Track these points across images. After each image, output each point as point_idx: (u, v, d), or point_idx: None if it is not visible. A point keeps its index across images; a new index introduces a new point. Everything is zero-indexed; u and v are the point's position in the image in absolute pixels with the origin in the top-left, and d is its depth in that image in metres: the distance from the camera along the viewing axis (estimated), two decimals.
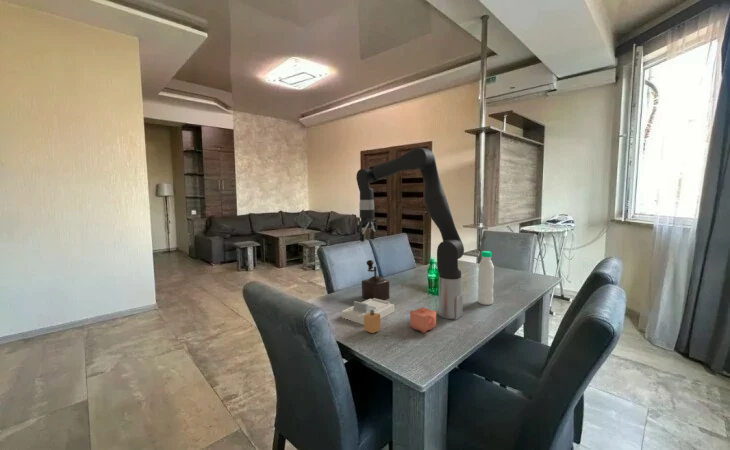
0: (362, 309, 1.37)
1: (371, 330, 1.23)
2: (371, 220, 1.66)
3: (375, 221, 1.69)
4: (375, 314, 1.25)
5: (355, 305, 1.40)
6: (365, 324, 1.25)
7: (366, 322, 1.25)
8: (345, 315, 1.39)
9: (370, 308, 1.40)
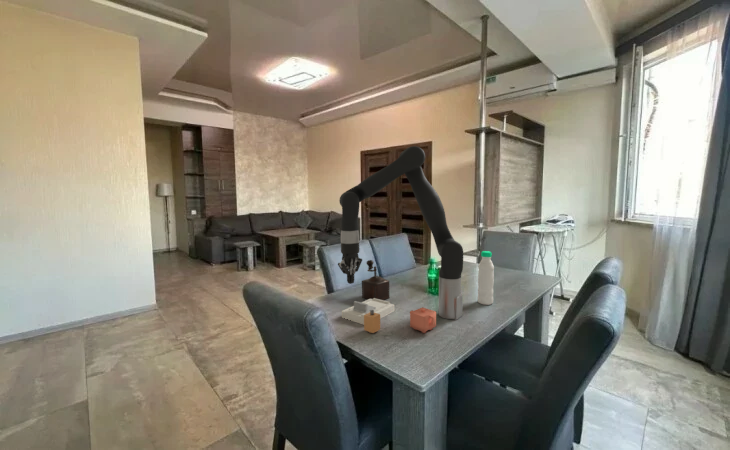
0: (362, 309, 1.37)
1: (371, 330, 1.23)
2: (356, 254, 1.33)
3: (360, 260, 1.35)
4: (375, 314, 1.25)
5: (355, 305, 1.40)
6: (365, 324, 1.25)
7: (366, 322, 1.25)
8: (345, 315, 1.39)
9: (370, 308, 1.40)
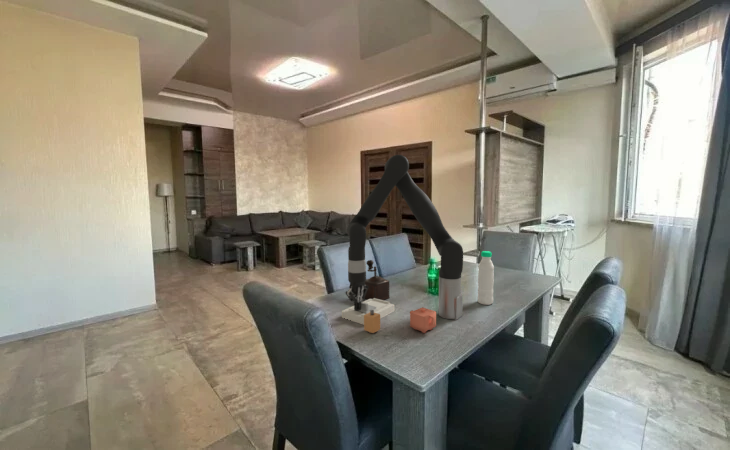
0: (363, 309, 1.38)
1: (371, 330, 1.23)
2: (363, 282, 1.37)
3: (366, 287, 1.39)
4: (375, 314, 1.25)
5: None
6: (365, 324, 1.25)
7: (366, 322, 1.25)
8: (345, 315, 1.39)
9: (371, 308, 1.41)
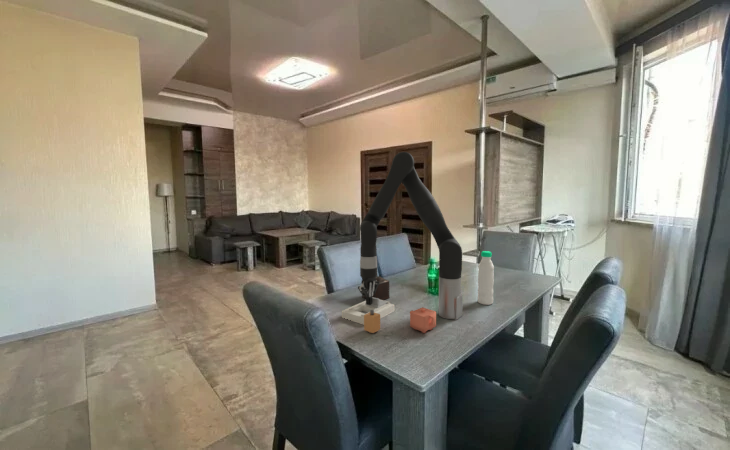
0: (374, 303, 1.44)
1: (371, 330, 1.23)
2: (374, 277, 1.44)
3: (377, 283, 1.45)
4: (375, 314, 1.25)
5: None
6: (365, 324, 1.25)
7: (366, 322, 1.25)
8: (345, 315, 1.39)
9: (382, 303, 1.47)
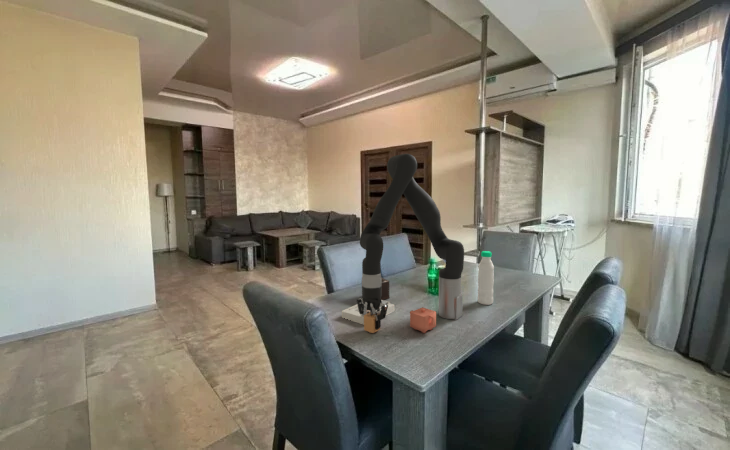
0: None
1: (371, 330, 1.23)
2: (375, 301, 1.22)
3: (381, 307, 1.21)
4: None
5: None
6: (365, 324, 1.25)
7: (366, 322, 1.25)
8: (345, 315, 1.39)
9: None
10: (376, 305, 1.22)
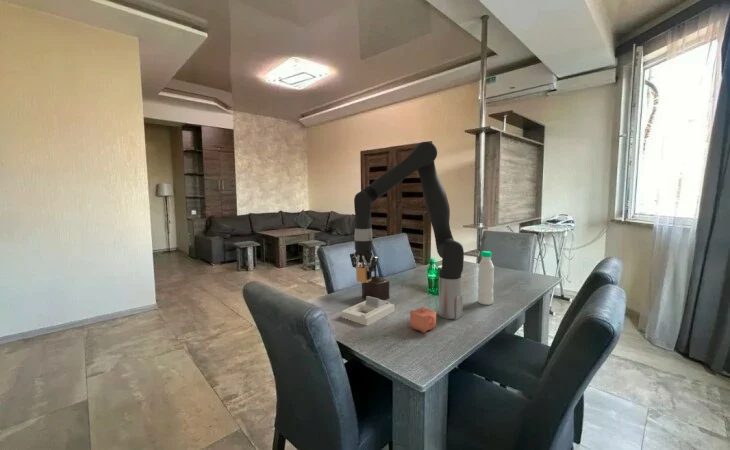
0: (374, 303, 1.44)
1: (363, 280, 1.36)
2: (366, 253, 1.35)
3: (372, 259, 1.33)
4: None
5: (367, 300, 1.46)
6: (357, 275, 1.37)
7: (358, 273, 1.37)
8: (345, 315, 1.39)
9: (382, 303, 1.47)
10: (367, 257, 1.35)
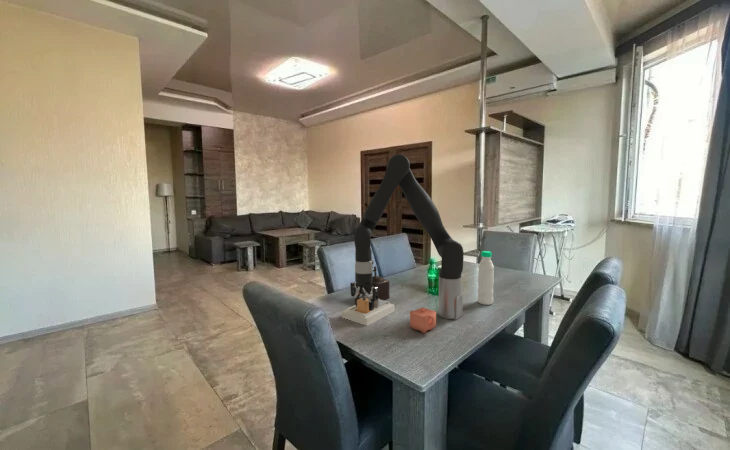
0: (374, 303, 1.44)
1: None
2: (366, 286, 1.37)
3: (372, 290, 1.36)
4: (367, 299, 1.41)
5: None
6: (358, 308, 1.40)
7: (358, 306, 1.40)
8: (345, 315, 1.39)
9: (382, 303, 1.47)
10: (367, 288, 1.37)
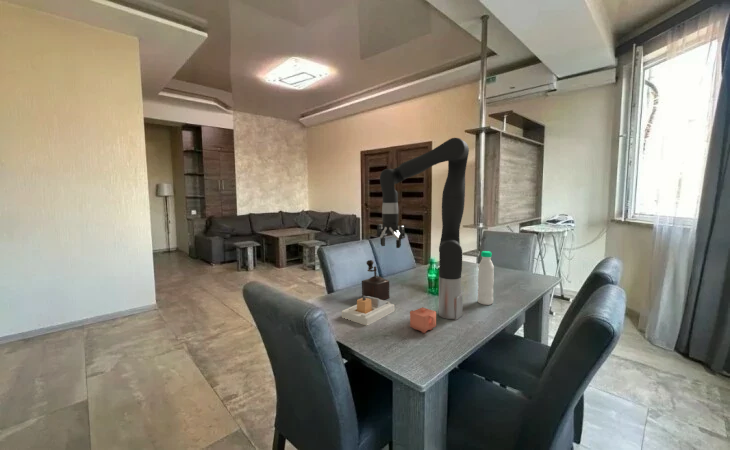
0: (374, 303, 1.44)
1: None
2: (393, 226, 1.49)
3: (399, 228, 1.47)
4: (367, 299, 1.41)
5: None
6: (358, 308, 1.40)
7: (358, 306, 1.40)
8: (345, 315, 1.39)
9: (382, 303, 1.47)
10: (394, 227, 1.49)
